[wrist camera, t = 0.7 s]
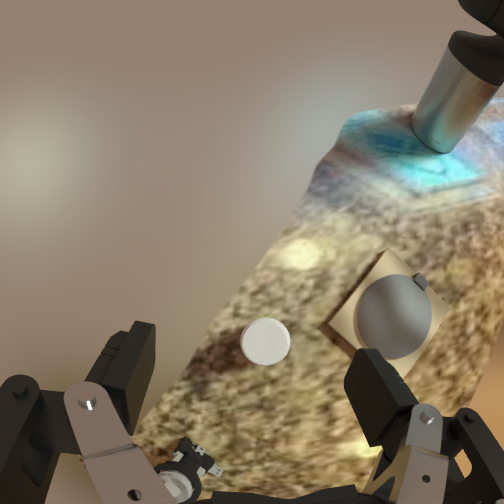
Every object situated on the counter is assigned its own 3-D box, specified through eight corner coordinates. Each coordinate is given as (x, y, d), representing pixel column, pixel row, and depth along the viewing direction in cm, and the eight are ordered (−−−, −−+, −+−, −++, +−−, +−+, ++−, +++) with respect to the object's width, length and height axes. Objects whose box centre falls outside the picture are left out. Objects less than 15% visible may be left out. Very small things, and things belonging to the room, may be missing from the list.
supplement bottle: (239, 351, 32) (228, 358, 24) (253, 313, 33) (247, 308, 25) (278, 364, 31) (281, 376, 23) (292, 326, 32) (299, 326, 24)
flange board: (385, 250, 33) (390, 245, 32) (445, 309, 31) (453, 307, 29) (326, 323, 32) (330, 323, 30) (393, 383, 29) (400, 386, 27)
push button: (234, 458, 28) (220, 498, 18) (210, 482, 27) (191, 522, 17) (190, 428, 29) (161, 459, 20) (168, 452, 28) (136, 485, 19)
